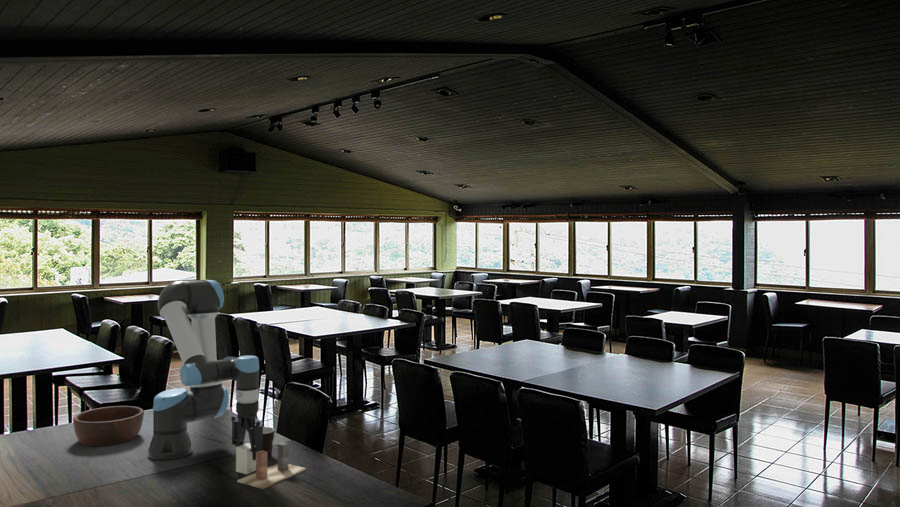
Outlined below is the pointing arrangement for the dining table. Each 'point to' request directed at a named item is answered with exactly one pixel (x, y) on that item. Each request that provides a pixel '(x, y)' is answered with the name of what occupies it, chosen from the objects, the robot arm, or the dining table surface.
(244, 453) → the upright off-white block
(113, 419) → the wooden bowl
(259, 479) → the stand
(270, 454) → the coffee mug
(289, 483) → the dining table surface
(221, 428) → the dining table surface
